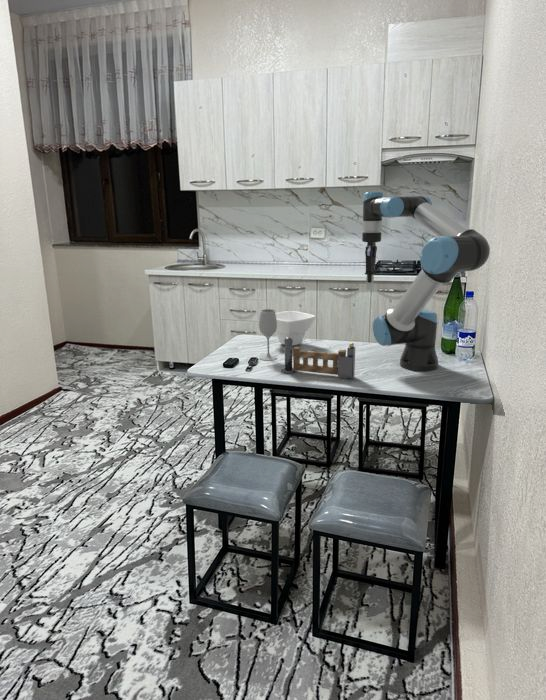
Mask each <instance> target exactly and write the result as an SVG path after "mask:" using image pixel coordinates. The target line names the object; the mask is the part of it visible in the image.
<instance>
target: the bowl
mask: <svg viewBox="0 0 546 700" xmlns="http://www.w3.org/2000/svg"><path fill="white" fill-rule="evenodd" d="M275 314H276V320H277V329H276V332H275V333H276V335H277V339H278V342H279V344H281V345H284V346H285V343H284V340H285V338H287V337H290V338H292V340H293V343H292V347H293V346H298V345H301V344H302V343H303V340H304V337H305V335H306V332H308V331H309V329H310V328H311V326H312V325H313V323H314V321H315V319H316V318H317V316H316V315H314V314H311V313H306V312H303V311H302V312H301V311H298V310H297V311H296V310H286V311H278V312H275Z"/></svg>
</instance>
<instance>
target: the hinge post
mask: <svg viewBox="0 0 546 700" xmlns="http://www.w3.org/2000/svg"><path fill="white" fill-rule="evenodd" d="M284 343H285V345H284V367H283V368H281V369H280V371H281V373H282V374H290V375H292V374H295V373H297V371H296V370H293V346H292V343H293V340H292V338H290V337H287V338H285V340H284Z"/></svg>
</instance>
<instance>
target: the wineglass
mask: <svg viewBox="0 0 546 700" xmlns="http://www.w3.org/2000/svg"><path fill="white" fill-rule="evenodd" d="M259 312H260V313H259V319H258V329H259V331H260V333H261V334H262V335H263V336H264V337H265V338H266V341H267V344H266V345H267V349H266V350H267V354H266V355H262V356H260V357H259V358H260V360H261V361H265V362H266V361H267V362H270V361H271V362H272V361H276V360H277V358H278V357H277V356H275V355H271V354H270V339H271V337H272V336H273V335H274V334H275V333H276V329H277V320H276V314H275V313H276V310H275V309H271V308H269V309H268V308H267V309H261V310H260V311H259Z"/></svg>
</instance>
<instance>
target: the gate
mask: <svg viewBox="0 0 546 700" xmlns="http://www.w3.org/2000/svg"><path fill="white" fill-rule="evenodd" d="M338 356H347V350H346V349H339V350H338V353H337V352H336V353H335V352H324V351H316V350H315V351H314V350H304V349H301V347H299V346H294V347H292V368H293V370H296V372H306V373H307V372H309V373H318V374H327V375H337V376H338ZM301 358H302V363H301V361H300V360H301ZM309 359H312V364H309ZM319 360H322V365H319ZM329 361H332V366H329Z"/></svg>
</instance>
